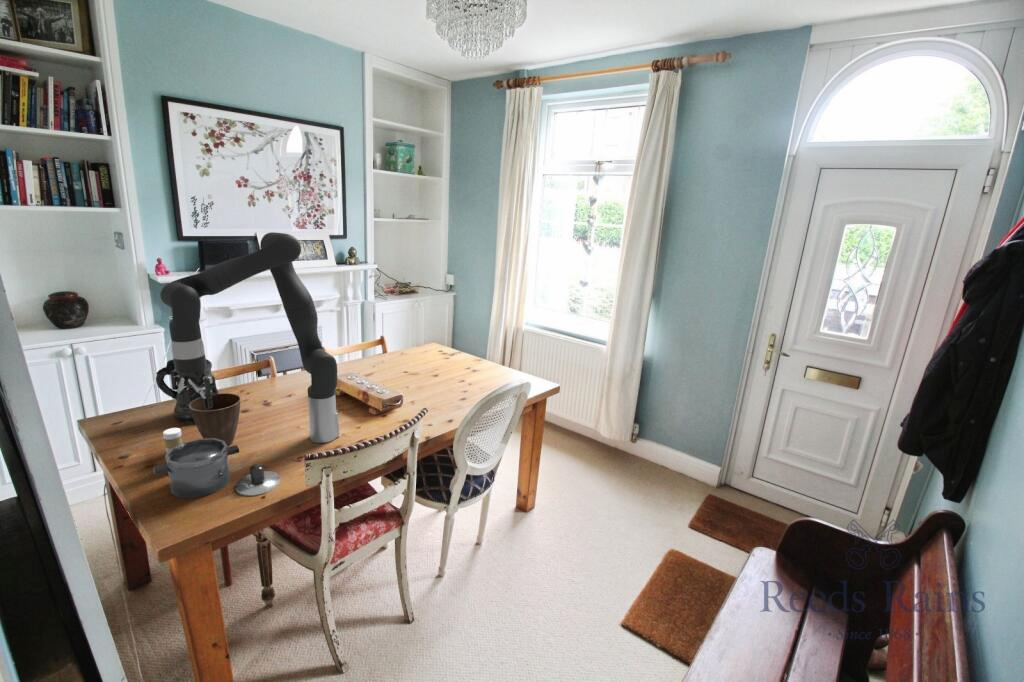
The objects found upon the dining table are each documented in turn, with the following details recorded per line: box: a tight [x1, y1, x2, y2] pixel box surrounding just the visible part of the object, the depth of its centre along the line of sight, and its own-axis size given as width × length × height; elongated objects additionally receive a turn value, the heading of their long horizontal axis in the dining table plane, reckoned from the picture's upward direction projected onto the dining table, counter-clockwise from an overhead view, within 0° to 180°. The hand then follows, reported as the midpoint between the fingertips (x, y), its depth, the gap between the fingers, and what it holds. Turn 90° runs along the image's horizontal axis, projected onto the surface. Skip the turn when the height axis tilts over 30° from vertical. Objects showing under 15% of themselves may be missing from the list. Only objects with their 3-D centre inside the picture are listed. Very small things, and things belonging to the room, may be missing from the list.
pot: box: [152, 438, 240, 499], centre depth 141 cm, size 21×15×11 cm
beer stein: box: [155, 358, 220, 425], centre depth 179 cm, size 16×19×25 cm
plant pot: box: [189, 392, 241, 447], centre depth 163 cm, size 15×15×16 cm
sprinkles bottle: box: [162, 427, 183, 455], centre depth 147 cm, size 5×5×14 cm
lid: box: [235, 463, 281, 497], centre depth 143 cm, size 12×12×6 cm
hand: (197, 406), depth 137 cm, fingers open, 8 cm apart
